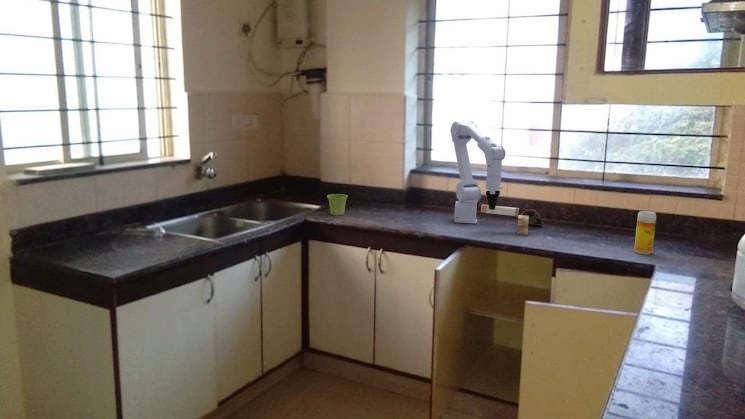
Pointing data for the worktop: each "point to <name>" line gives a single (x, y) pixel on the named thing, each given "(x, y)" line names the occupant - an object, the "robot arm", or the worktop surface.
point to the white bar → (500, 210)
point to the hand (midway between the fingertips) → (492, 208)
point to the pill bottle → (645, 232)
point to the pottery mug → (533, 217)
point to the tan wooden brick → (522, 224)
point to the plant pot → (337, 203)
